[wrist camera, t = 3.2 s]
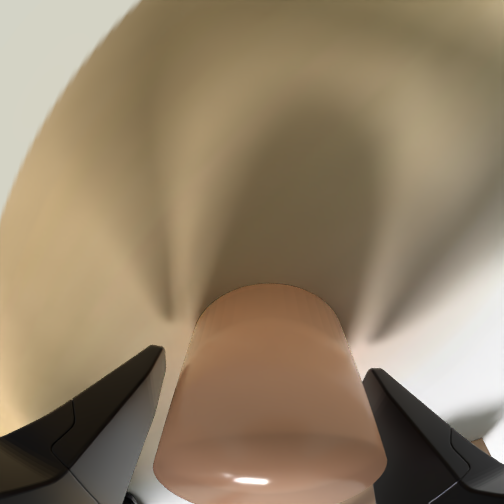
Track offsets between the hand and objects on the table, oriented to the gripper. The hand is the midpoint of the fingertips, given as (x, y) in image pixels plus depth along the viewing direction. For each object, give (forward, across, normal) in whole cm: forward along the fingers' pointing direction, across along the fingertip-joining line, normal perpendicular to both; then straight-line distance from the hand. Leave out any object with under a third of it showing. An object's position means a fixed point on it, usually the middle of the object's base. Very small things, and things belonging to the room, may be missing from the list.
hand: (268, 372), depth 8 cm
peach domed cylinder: (+1, 0, 0) cm, 1 cm away
